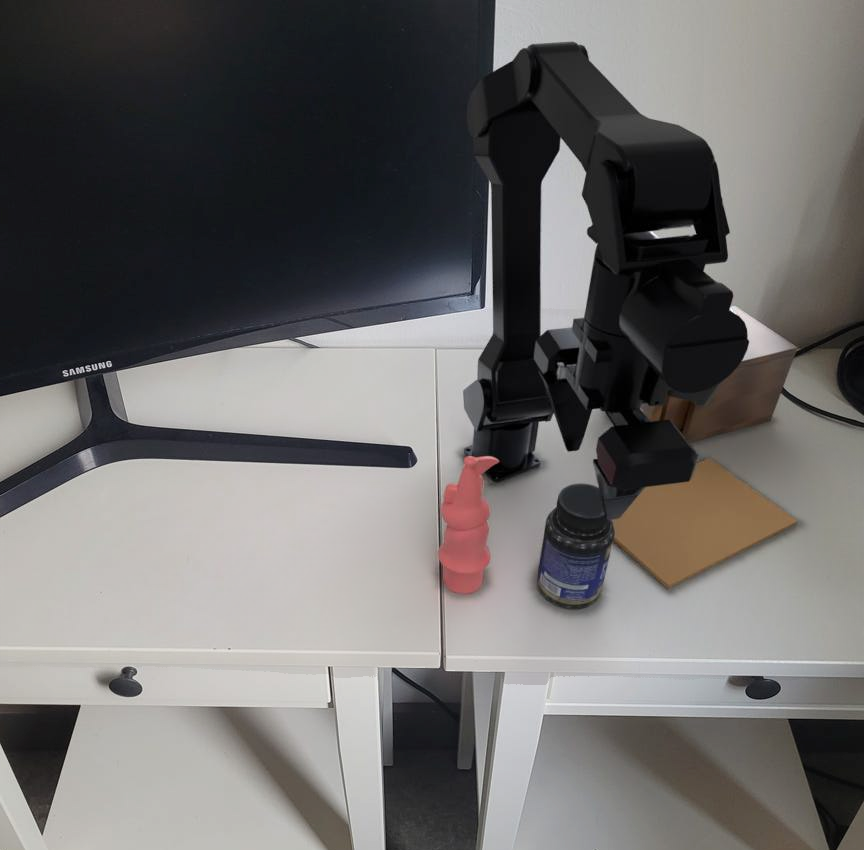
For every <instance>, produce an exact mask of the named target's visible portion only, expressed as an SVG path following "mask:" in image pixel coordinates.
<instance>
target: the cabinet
mask: <svg viewBox="0 0 864 850" xmlns="http://www.w3.org/2000/svg"><path fill="white" fill-rule="evenodd" d="M730 309H732V310H733V311H734V312H735V313H736V314H737V315H739V316H740V318H741V319H742V320H743V321H744V322H745V325H746V328H747V333H748V340H749V345H748V349H747V352H746V354H745V356H744V358H743V360H742V361H741V363H740V364H739V366H738V367H737V369H736V370H735V371H734V372H733V373H732V374H731V375H730V376H729V377H728V378H726V379H725V380H724V381H722V383H721V384H720V386H719V387H718V389H717V390H716V392H715V393H714V395H713V396H712V398H711V399H710V401H709V402H708V404H707V405H706V406H698V405H696V404H695V402H691V404H690V408H689V411H688V415H687V418H686V422H685V425H684V428H683V429H679V430H680V432H681V433H682V434H683V435H684V437H685V438H686V439H687V441H688V442H689V443H690V444H691V443H693V442H697V441H701V440H704V439H708V438H712V437H716V436H719V435H722V434H726V433H730V432H734V431H737V430H741V429H745V428H749V427H752V426H755V425H759V424H764V423H767V422H770V421H772V419H773V416H774V413H775V411H776V407H777V406H778V402H779V400H780V397H781V394H782V391H783V390H784V389H783V388H784V386H785V383H786V380H787V378H788V375H789V372H790V370H791V367H792V364H793V361H794V359H795V356H796V353H797V352H798V346H796V345H794V344H793V343H791V342H790V341H789V340H787V339H786V338H784V337H782V336H781V335H780V334H778V333H776V332H775V331H773V330H772V329H770V328H769V327H767V326H766V325H765V324H763V323H762V322H760V321H758V320H757V319H755V318H754V317H752V316H751V315H749V314H748V313H746V312H745V311H743V310H742V309H741V308H739V307H737V305H731V306H730Z"/></svg>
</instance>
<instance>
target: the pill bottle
mask: <svg viewBox="0 0 864 850" xmlns="http://www.w3.org/2000/svg"><path fill="white" fill-rule="evenodd" d="M614 535H615V529H614V524H613V522H612V520H607V519H606V517H605V513H604V509H603V505H602V501H601V496H600V492H599V487H598V486H596V485H593V484H590V483H573V484H570V485H567V486H565V487H563V488H562V489H561V491H560V492H559V493H558V497H557V501H556V507H554V508H553V509H552V510H551V511H550V512H549V513H548V514H547V517H546V520H545V525H544V531H543V538H542V542H541V543H542V544H541V549H540V554H539V555H540V556H539V562H538V570H537V575H536V576H537V577H536V582H537V587H538V590H539V591H540V594H541V595H542V596H544V598H545V599H546V600H548V601H549V602H550V603H552V604H553V605H555V606H558V607H561V608H565V609H569V610H571V609H573V610H574V609H575V610H576V609H577V610H579V609H583V608H588V607H589V606H591V605H592V604H593V605H594V603H596V601H597V600H598V599H599V598H600V597H601V595H602V592H603V586H604V583H605V582H604V581H605V577H606V573H607V569H608V564H609V560H610V556H611V551H612V548H613V544H614V541H613V540H614Z"/></svg>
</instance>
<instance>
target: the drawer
mask: <svg viewBox="0 0 864 850" xmlns="http://www.w3.org/2000/svg"><path fill="white" fill-rule="evenodd" d="M690 404H691V401H686V400H682V399H678V398H673V397H670V396H667V397H666V401H665V405H659V406H649V405H648V404H647V403H644V404H641V407H640V408H641V410H642V411H643V412H644V414H645V415H646V416H647V418H648V419H649V420H650V422H653V421H661V420H670V421H671V422H672V423H673V424H674V425H675V426H676V427H677V428H678V429H683V428H684V425H685V422H686V418H687V415H688V411H689V408H690Z"/></svg>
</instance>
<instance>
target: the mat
mask: <svg viewBox="0 0 864 850" xmlns="http://www.w3.org/2000/svg"><path fill="white" fill-rule="evenodd" d="M612 522H613V524H614V529H615V535H614V540H613V543H616V544H617V545H618V546H619V547H620V548H621V549H622V550H623V551H624V552H626V553H627V554H628V555H629V556H630V557H631V558H632V559H634V561H636V563H638V564H639V565H640V566H641V567H642V568H643V569H644V570H646V571H647V572H648V573H649V574H650V575H651V576H652V577H654V579H656V580H657V581H658V582H659V583H660V584H662V586H664V587H665V588H666V589H668V590H669V589H671V588H673V587H675V586H677V585H679V584H681V583H683V582H685V581H687V580H689V579H691V578H693V577H695V576H697V575H699V574H701V573H702V572H704V571H706V570H708V569H710V568H713V567H714V566H717V565H718V564H720V563H723V562H724V561H726V560H729V559H730V558H733V557H734V556H737V555H738V554H740V553H742V552H744V551H747V550H748V549H751V548H753V547H754V546H756V545H758V544H760V543H762V542H764V541H766V540H768V539H770V538H772V537H774V536H775V535H778V534H780V533H782V532H784V531H785V530H788V529H789V528H792V527H793V526H795V525H797V523H798V520H797V518H794V517H793V516H792V515H791V514H789V513H787V512H786V511H785V510H783V509H782V508H781V507H779V506H777V505H776V504H775V503H774V502H772V501H770V500H769V499H767V498H766V497H765V496H763V495H762V494H761V493H759V492H757V491H756V490H755V489H753V488H752V487H751V486H750V485H748V484H746V483H745V482H744V481H743V480H740V479H739V477H737V476H735V475H733V474H732V473H731V472H730V471H729V470H727V469H726V468H724V467H722V466H721V465H720V464H719V463H717V462H716V461H714V460H713V459H712V458H705V459H704V460H703V461H700V462H697V465H696V468H695V471H694V475H693V477H692V478H691V480H690V481H689V482H682V483H674V484H666V485H658V486H650V487H646V488H645V489H644V490H643V491H642V492H641V493H640V494H639V495H638V497H637V498H636V499H635V500H634V501H633V503H632V504H631V505H630V506H629V508H628V509H627V510H626V511H625V512H624V514H623V515H622V516H621V517H620V518H619V519H614V520H612Z"/></svg>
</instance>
